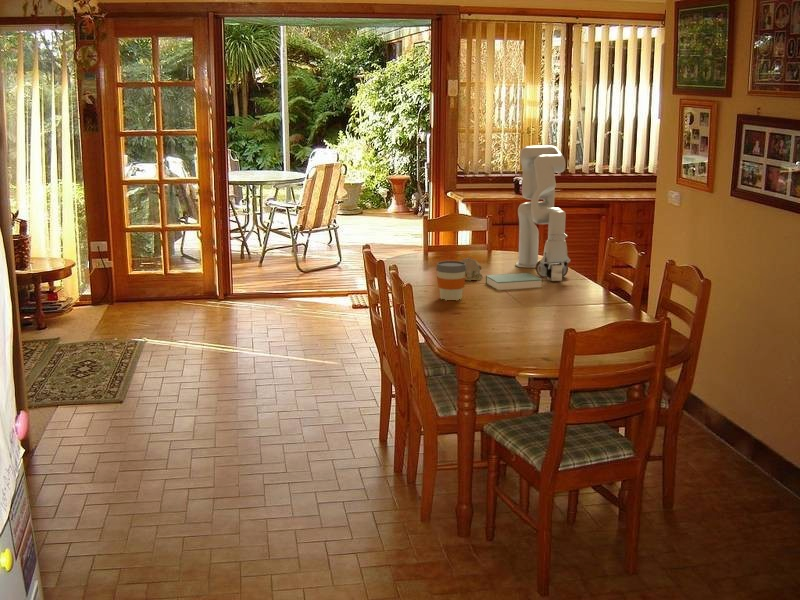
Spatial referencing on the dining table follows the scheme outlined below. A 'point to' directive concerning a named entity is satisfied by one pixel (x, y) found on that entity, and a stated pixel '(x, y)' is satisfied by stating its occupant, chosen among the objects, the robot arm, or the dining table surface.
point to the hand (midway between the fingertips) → (554, 276)
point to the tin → (542, 269)
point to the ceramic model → (472, 269)
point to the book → (513, 281)
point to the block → (556, 272)
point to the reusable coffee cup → (451, 279)
